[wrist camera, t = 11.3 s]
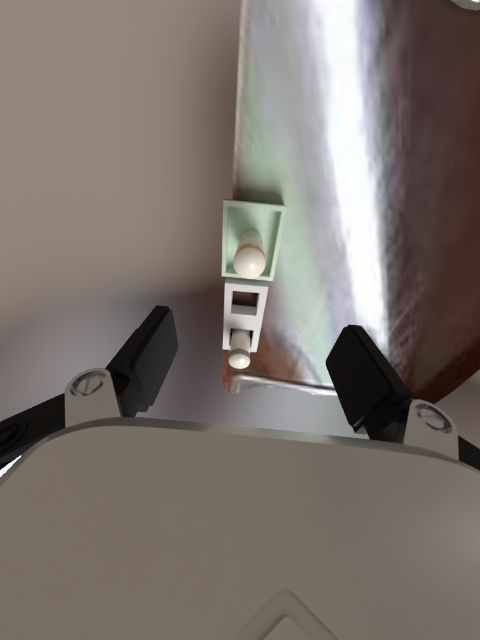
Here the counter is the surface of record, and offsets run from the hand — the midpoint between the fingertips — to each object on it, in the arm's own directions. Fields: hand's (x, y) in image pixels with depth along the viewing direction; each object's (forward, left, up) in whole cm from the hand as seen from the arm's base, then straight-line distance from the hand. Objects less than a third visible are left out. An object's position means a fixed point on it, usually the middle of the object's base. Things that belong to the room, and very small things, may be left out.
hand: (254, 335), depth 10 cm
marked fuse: (0, 0, -22) cm, 22 cm away
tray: (0, 0, -22) cm, 22 cm away
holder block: (+14, 0, -22) cm, 26 cm away
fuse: (+18, 0, -22) cm, 29 cm away
